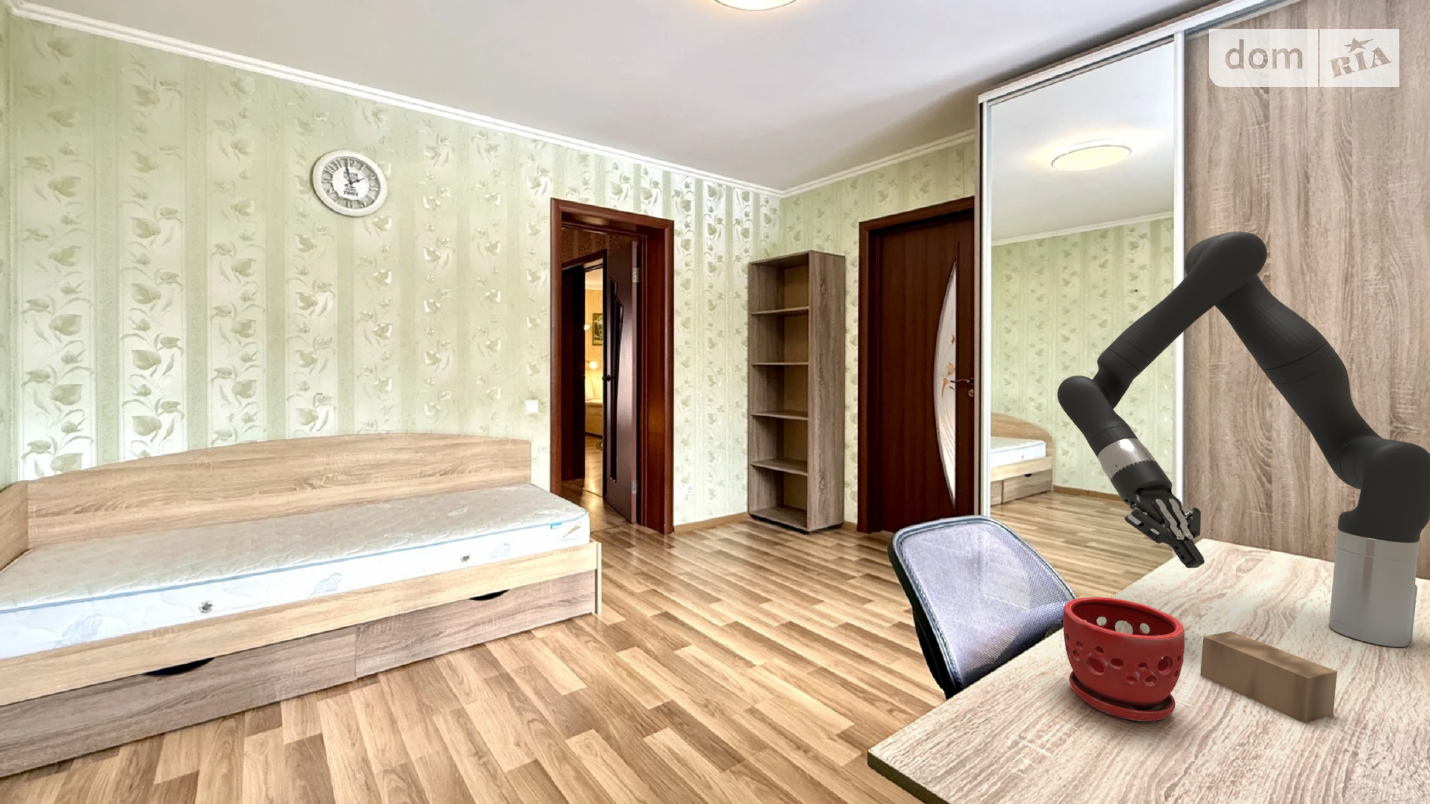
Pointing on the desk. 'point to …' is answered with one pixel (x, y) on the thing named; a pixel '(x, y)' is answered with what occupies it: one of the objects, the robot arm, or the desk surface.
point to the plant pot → (1123, 657)
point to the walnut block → (1269, 676)
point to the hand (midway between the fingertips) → (1196, 565)
